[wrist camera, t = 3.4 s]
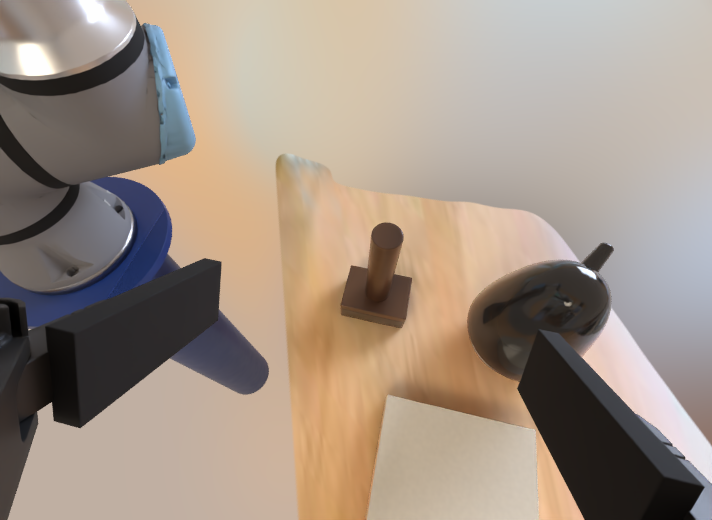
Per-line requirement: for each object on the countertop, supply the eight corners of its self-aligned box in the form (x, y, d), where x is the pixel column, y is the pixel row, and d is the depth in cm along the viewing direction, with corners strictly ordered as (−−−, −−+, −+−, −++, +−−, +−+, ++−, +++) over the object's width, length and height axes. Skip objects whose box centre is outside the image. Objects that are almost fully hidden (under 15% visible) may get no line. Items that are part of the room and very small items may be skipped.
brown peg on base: (341, 315, 38) (337, 252, 26) (350, 276, 41) (352, 203, 29) (401, 328, 38) (427, 271, 26) (408, 288, 40) (434, 219, 28)
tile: (360, 545, 28) (361, 551, 27) (385, 397, 34) (387, 394, 32) (529, 593, 27) (542, 603, 25) (525, 431, 33) (535, 430, 31)
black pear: (568, 339, 38) (687, 278, 24) (519, 411, 34) (629, 386, 21) (491, 280, 41) (559, 199, 28) (438, 340, 37) (488, 280, 24)
